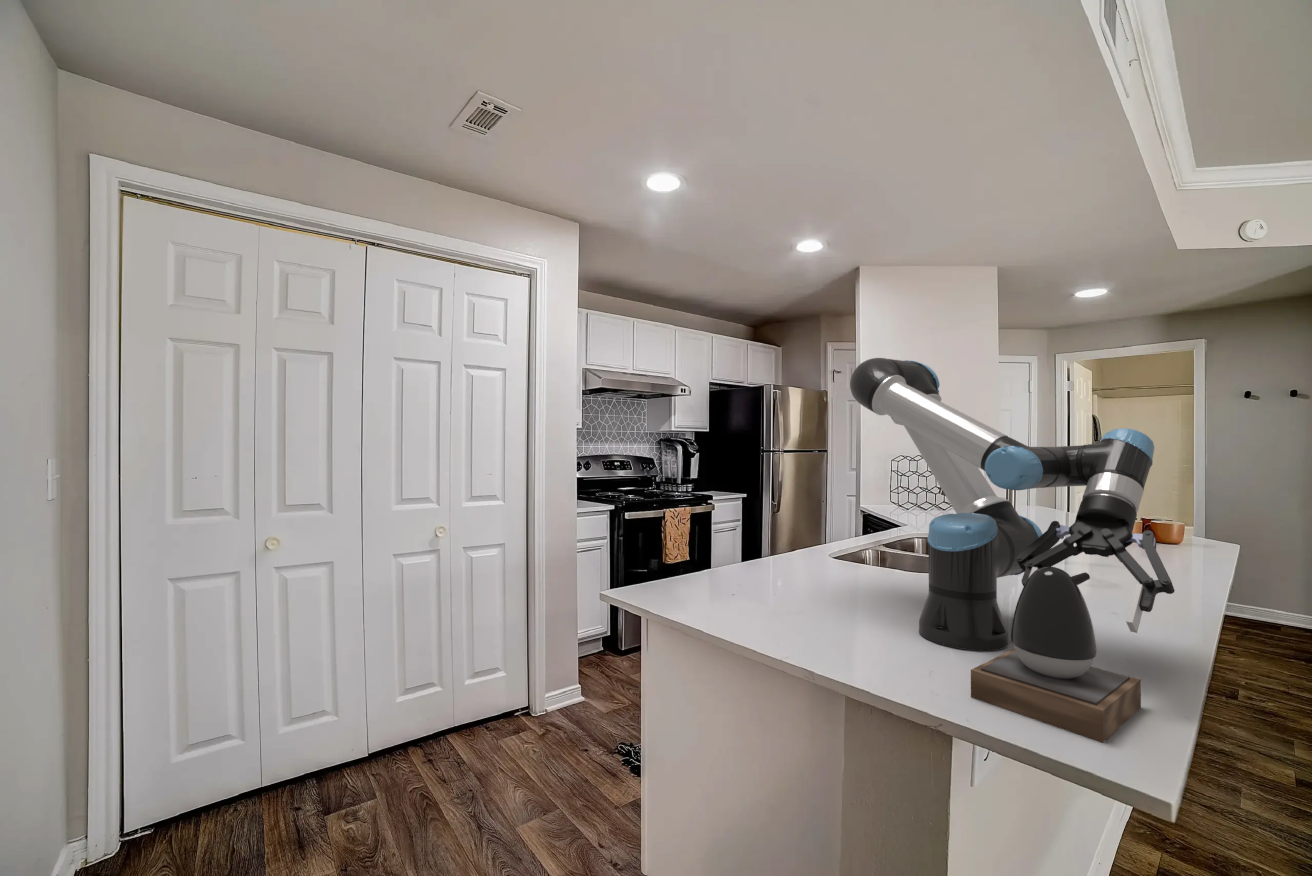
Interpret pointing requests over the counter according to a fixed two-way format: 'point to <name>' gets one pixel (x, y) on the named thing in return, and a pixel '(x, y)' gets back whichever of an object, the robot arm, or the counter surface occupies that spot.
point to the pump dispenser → (1054, 625)
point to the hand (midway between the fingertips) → (1075, 615)
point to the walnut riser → (1059, 695)
